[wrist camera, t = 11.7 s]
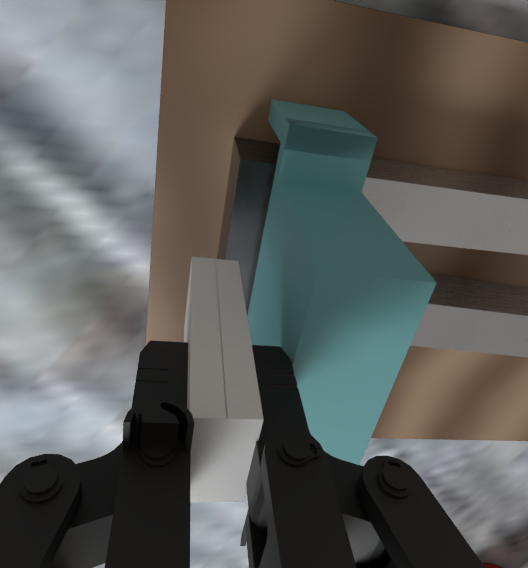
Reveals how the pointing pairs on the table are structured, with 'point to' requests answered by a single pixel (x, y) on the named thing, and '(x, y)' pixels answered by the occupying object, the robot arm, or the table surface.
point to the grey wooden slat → (475, 317)
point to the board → (390, 146)
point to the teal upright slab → (333, 278)
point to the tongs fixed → (383, 206)
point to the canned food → (490, 566)
